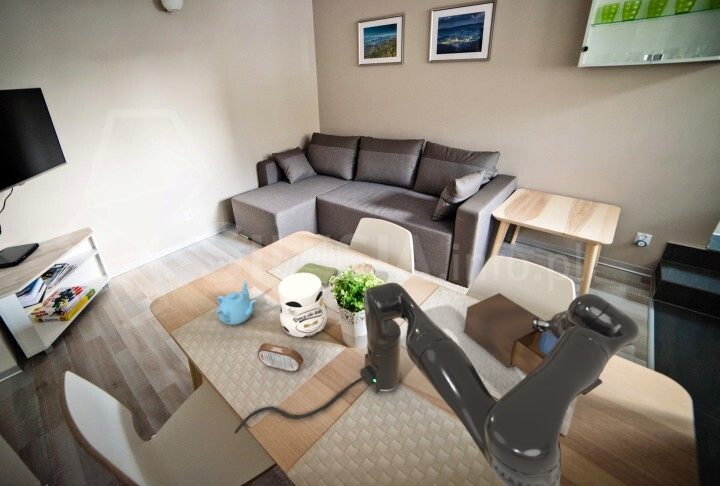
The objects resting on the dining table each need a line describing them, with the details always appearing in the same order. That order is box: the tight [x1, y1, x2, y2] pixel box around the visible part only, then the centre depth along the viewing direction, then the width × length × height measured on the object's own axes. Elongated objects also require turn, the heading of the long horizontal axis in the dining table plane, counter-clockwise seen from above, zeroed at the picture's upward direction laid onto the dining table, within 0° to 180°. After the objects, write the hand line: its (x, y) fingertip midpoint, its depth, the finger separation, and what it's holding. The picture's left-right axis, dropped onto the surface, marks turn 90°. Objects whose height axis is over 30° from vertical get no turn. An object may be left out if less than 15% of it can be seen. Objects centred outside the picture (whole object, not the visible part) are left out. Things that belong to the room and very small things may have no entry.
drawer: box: [511, 330, 603, 396], centre depth 92 cm, size 20×14×9 cm
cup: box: [539, 332, 558, 355], centre depth 89 cm, size 6×6×7 cm
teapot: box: [214, 280, 257, 326], centre depth 126 cm, size 15×15×10 cm
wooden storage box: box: [463, 292, 545, 369], centre depth 105 cm, size 17×15×11 cm
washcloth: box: [293, 262, 339, 287], centre depth 148 cm, size 13×18×3 cm
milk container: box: [277, 272, 328, 339], centre depth 117 cm, size 17×17×18 cm
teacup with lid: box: [352, 262, 376, 275], centre depth 137 cm, size 12×9×12 cm
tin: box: [257, 342, 304, 373], centre depth 103 cm, size 15×3×8 cm, turn 71°
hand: (554, 331), depth 90 cm, fingers closed on cup, 6 cm apart
